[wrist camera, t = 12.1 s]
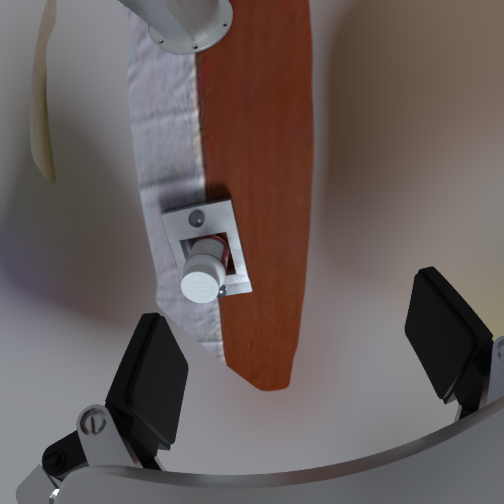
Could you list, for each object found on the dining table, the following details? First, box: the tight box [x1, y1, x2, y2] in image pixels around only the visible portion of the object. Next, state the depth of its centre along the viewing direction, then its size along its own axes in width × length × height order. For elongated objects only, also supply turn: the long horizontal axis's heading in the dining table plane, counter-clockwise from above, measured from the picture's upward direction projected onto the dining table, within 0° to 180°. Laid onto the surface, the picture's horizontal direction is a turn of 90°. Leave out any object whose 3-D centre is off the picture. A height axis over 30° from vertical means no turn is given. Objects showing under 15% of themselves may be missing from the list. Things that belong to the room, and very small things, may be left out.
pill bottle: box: [181, 234, 229, 303], centre depth 40 cm, size 6×6×11 cm
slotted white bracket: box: [161, 196, 252, 297], centre depth 44 cm, size 17×11×3 cm, turn 11°
